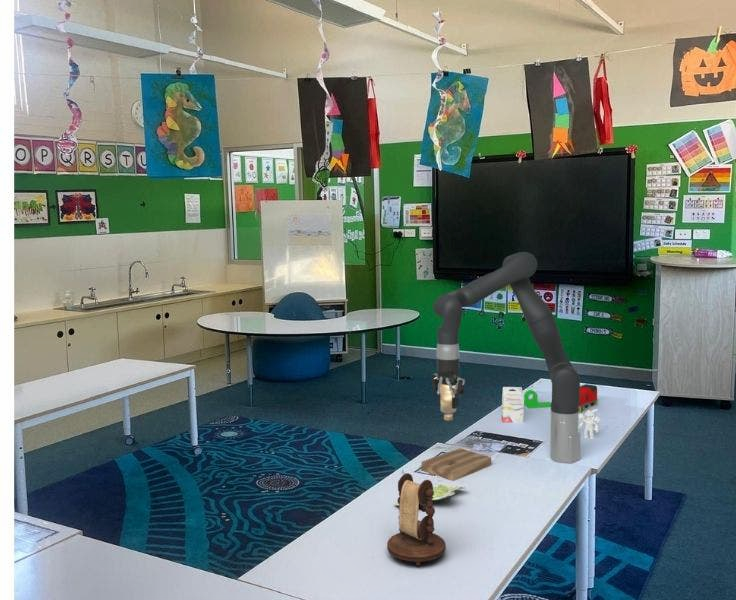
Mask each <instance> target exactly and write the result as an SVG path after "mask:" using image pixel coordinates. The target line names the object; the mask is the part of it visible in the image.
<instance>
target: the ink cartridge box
mask: <svg viewBox="0 0 736 600" xmlns="http://www.w3.org/2000/svg"><path fill="white" fill-rule="evenodd" d="M501 395H502V396H501V421H502V423H524V414H525V413H524V410H525V409H524V407H525V405H524V394H523V388H522V387H521V386H519V387H518V386H517V387H516V386H503V387H502V394H501Z"/></svg>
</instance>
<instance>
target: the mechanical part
mask: <svg viewBox="0 0 736 600" xmlns="http://www.w3.org/2000/svg"><path fill="white" fill-rule="evenodd" d="M530 395H532V398H530ZM523 397H524V407H526V408H528V409H540V408H551V402H552V401H538V393H537V392H536V391H534V390H532V389H528V390H526V391H525V392H524V394H523ZM529 398H530V399H529Z"/></svg>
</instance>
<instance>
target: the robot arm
mask: <svg viewBox="0 0 736 600" xmlns="http://www.w3.org/2000/svg"><path fill="white" fill-rule="evenodd" d="M537 268H538V261H537V258H536V257H535V255H534V254H532V253H530V252H527V251H521V252H516V253H513V254H510V255H507V256H506V257H505V258H504V259H503V262H502V267H500V268H498V269H496V270H493V272H490V273H487V274H484V275H483V276H480V277H478V278H476V279H475V280H472V281H471V282H468V283H467V284H465V285H464V286H462V287H460V288H458V289H455V290H452V291H450V292H447V293H445V294H442V295H440V296H439V297H437V298H436V300H435V301H434V302H433V306H432V310H433V312H434V314H435V315H437V316H438V317H441V318H442V325H440V326H438V328H437V331H436V334H437V335H436V343H437V344H436V371H437V373H432V374H430V380H431V386H432V391H433V392H434V393H436V394H437V395H438V396H437V403H438V405H439V406H440V407H441V399H440V384H444V385H448V386H449V391H451V394H452V397H453V398H452V408H453V409H455V408H456V409H458V407H459V406H460V405H459V400H460V398H459V397H462V396H464V394H465V388H466V384H467V379H466V378H461V377H460V376H459V371H460V346H459V329H460V326H461V322H462V317H463V308H469V307H472V306H474V305H476V304H478V303H479V302H481V301H482V300H484V299H486V298H488V297H489V296H491V295H493V294H495V293H496V292H498V291H499V290H501V289H503V288H505V287H507V286H510V288H511V290H512V291H513V293H514V295H515V297H516V300H517V301H518V302H517V303H518V304H519V305H518V306H519V307H520V309H521V311H522V313H523V316H524V319H525V321H526V324H527V326H528V328H529V331H530V334H531V335H532V337H533V340H534V342H535V343H536V345H537V347H538V349H539V350H540V352H541V353H542V355H543V357H544V361H545V363H546V367H547V370H548V374H549V378H550V382H551V401H550V402H551V407H550V460H552V461H555V462H556V463H557V462H558V463H564V464H574V463H576V462H578V461H580V460H581V432H579V428H578V426H579V420H578V416H579V412H578V407H579V400H580V386H581V379H580V375H579V374H578V372H577V371H576V369H575V368H574V367H573V365H572V362H571V361H570V359H569V357H568V355H567V353H566V351H565V349H564V346H563V342H562V339H561V333H560V330H559V326H558V324H557V322H556V319H555V317H554V314H553V312H552V310H551V308H550V306H549V305H548V304H547V303H546V302H545V300H543V299H542V297H541V296H540V295H539V294H538V293H537V292H536V290H535V289H534V287H533V285H532V282H531V279H530V277H532V276H533V275H534V274H535V273H536V271H537ZM454 385H456V387H455V388H452V386H454ZM454 390H455V392H454Z"/></svg>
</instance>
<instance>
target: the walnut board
mask: <svg viewBox="0 0 736 600" xmlns="http://www.w3.org/2000/svg"><path fill="white" fill-rule="evenodd" d="M491 466H492V457H491V456H488V455H484V454H481V453H477V452H475V451H472V450H467V449H464V448H461V447H459V448H455V449H454V450H451V451H448V452H444V453H442V454H440V455H436V456H433V457H431V458H427V459H426V460H425V459H424V460H423V461H421V465H420V467H421V471H422V472H425V473H429V474H432V475H434V476H437V477H440V478H442V479H446V480H449V481H451V482H453V481H456V480H460V479H461V478H465V477H467V476H469V475H471V474H474V473H476V472H479V471H481V470H484V469H487V468H489V467H491Z"/></svg>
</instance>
